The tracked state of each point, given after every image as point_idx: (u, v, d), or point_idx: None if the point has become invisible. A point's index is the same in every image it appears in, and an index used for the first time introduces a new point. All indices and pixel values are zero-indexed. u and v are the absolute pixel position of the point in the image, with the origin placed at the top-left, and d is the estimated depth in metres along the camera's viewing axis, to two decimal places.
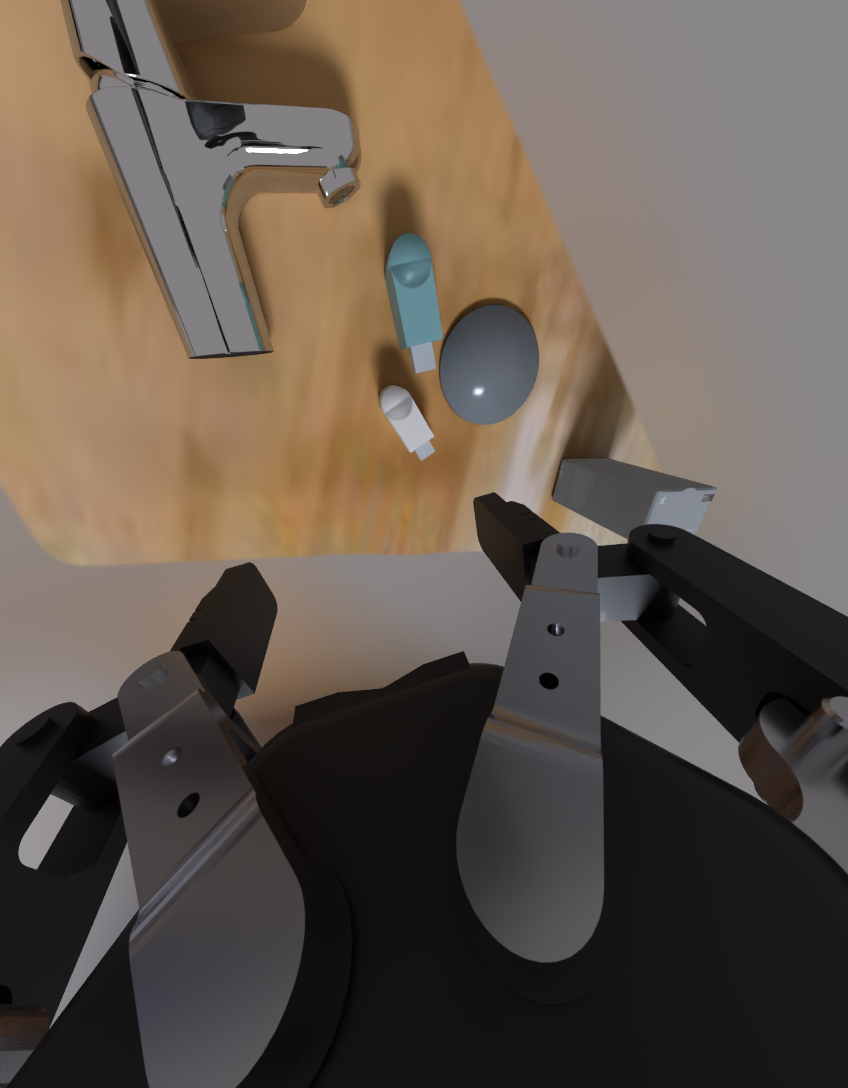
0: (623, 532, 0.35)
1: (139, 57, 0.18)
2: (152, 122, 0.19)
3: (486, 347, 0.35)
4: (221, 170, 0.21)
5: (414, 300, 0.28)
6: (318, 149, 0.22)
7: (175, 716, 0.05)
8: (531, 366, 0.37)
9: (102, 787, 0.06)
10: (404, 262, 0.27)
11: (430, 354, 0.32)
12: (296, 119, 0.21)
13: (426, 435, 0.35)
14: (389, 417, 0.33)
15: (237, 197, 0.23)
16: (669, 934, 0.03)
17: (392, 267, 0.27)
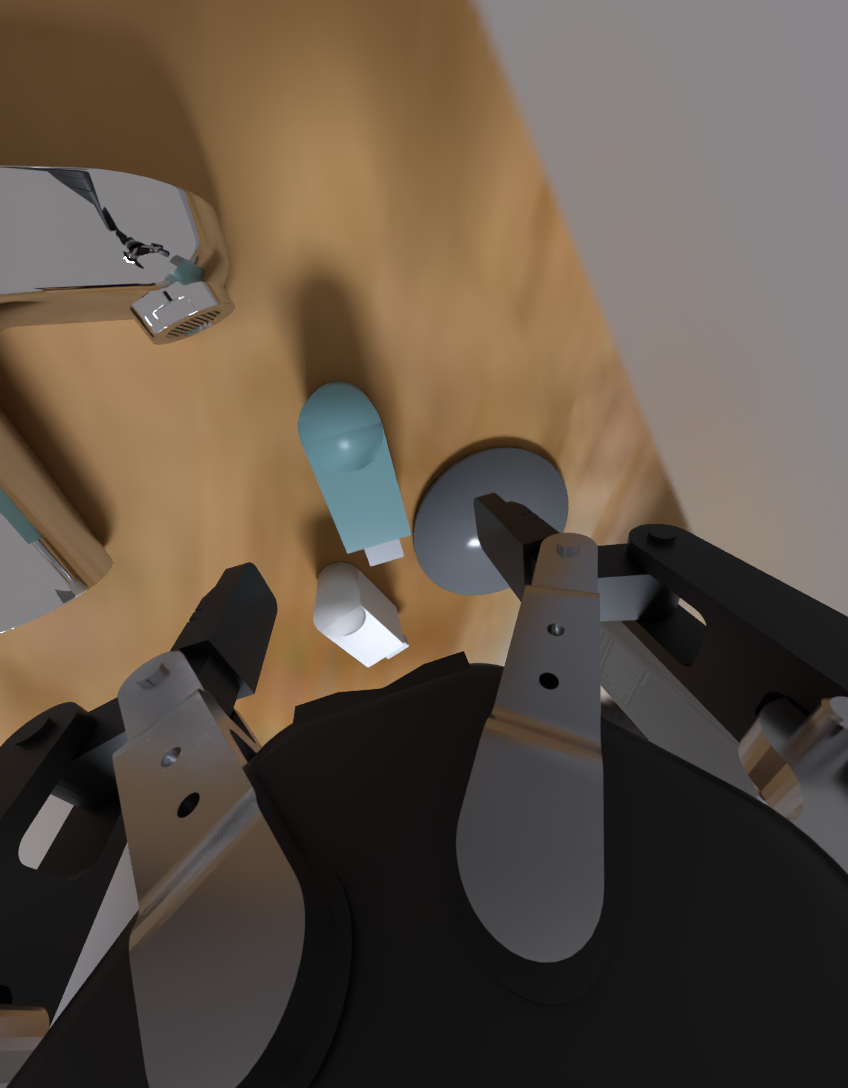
0: None
1: None
2: None
3: None
4: None
5: (355, 488, 0.15)
6: (90, 261, 0.09)
7: (175, 716, 0.05)
8: (556, 520, 0.24)
9: (102, 787, 0.06)
10: (329, 434, 0.14)
11: (393, 540, 0.19)
12: (6, 197, 0.08)
13: (391, 645, 0.22)
14: (328, 635, 0.20)
15: None
16: (668, 934, 0.03)
17: (305, 445, 0.14)
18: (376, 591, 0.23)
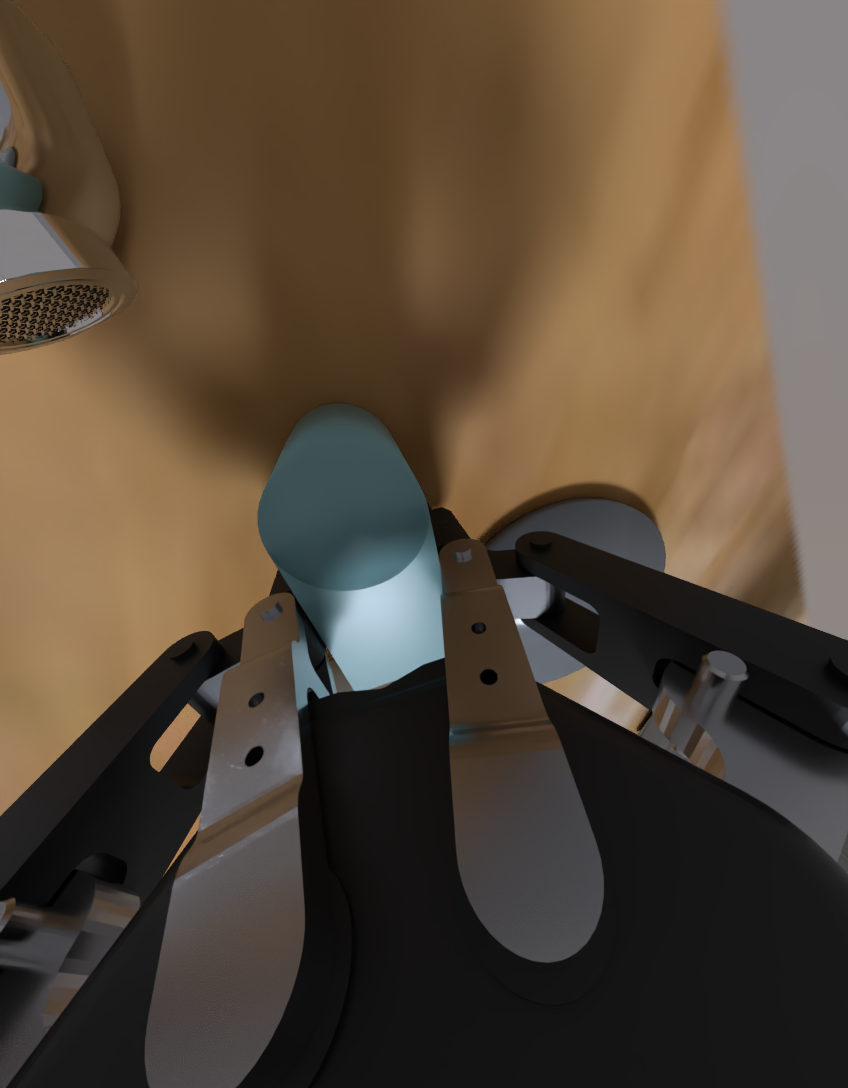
0: None
1: None
2: None
3: None
4: None
5: (372, 610, 0.08)
6: None
7: (270, 661, 0.05)
8: None
9: None
10: (322, 534, 0.07)
11: None
12: None
13: None
14: None
15: None
16: (669, 934, 0.03)
17: (275, 554, 0.07)
18: None
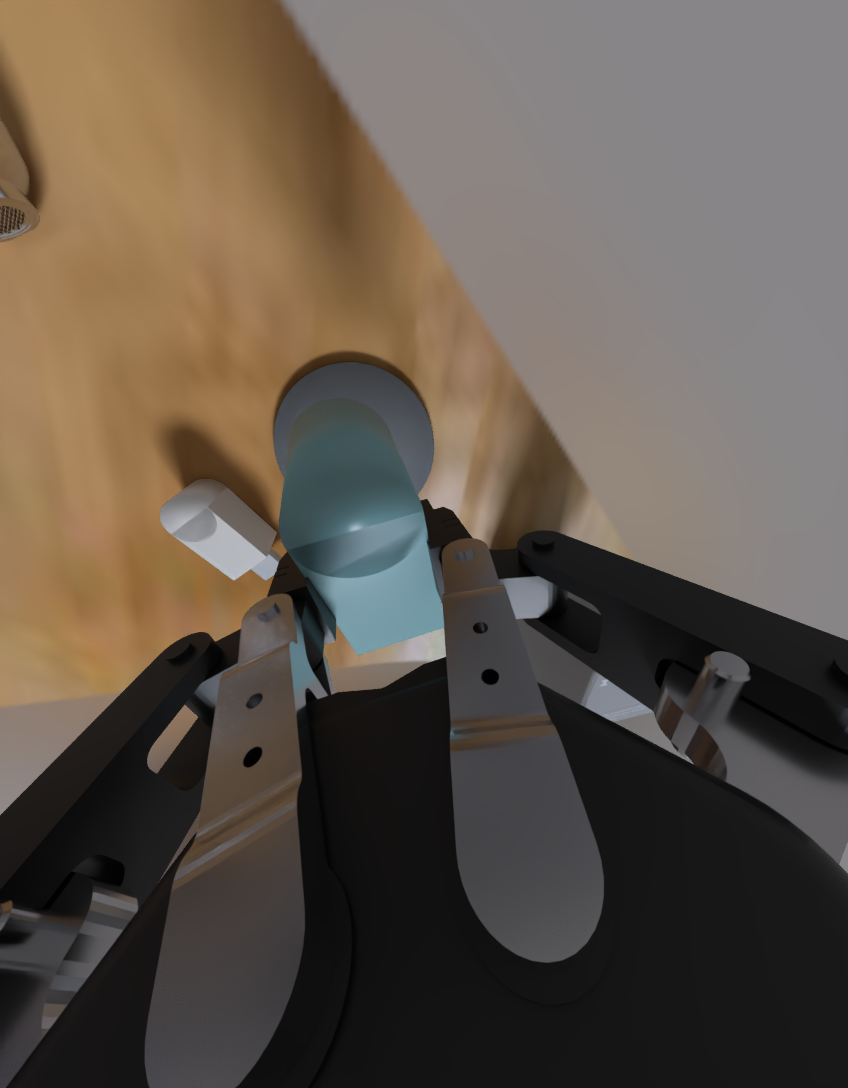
0: None
1: None
2: None
3: None
4: None
5: (373, 592, 0.10)
6: None
7: (268, 662, 0.05)
8: (423, 444, 0.25)
9: None
10: (334, 535, 0.08)
11: None
12: None
13: (253, 557, 0.23)
14: (181, 539, 0.21)
15: None
16: (669, 936, 0.03)
17: (293, 551, 0.08)
18: (247, 510, 0.24)
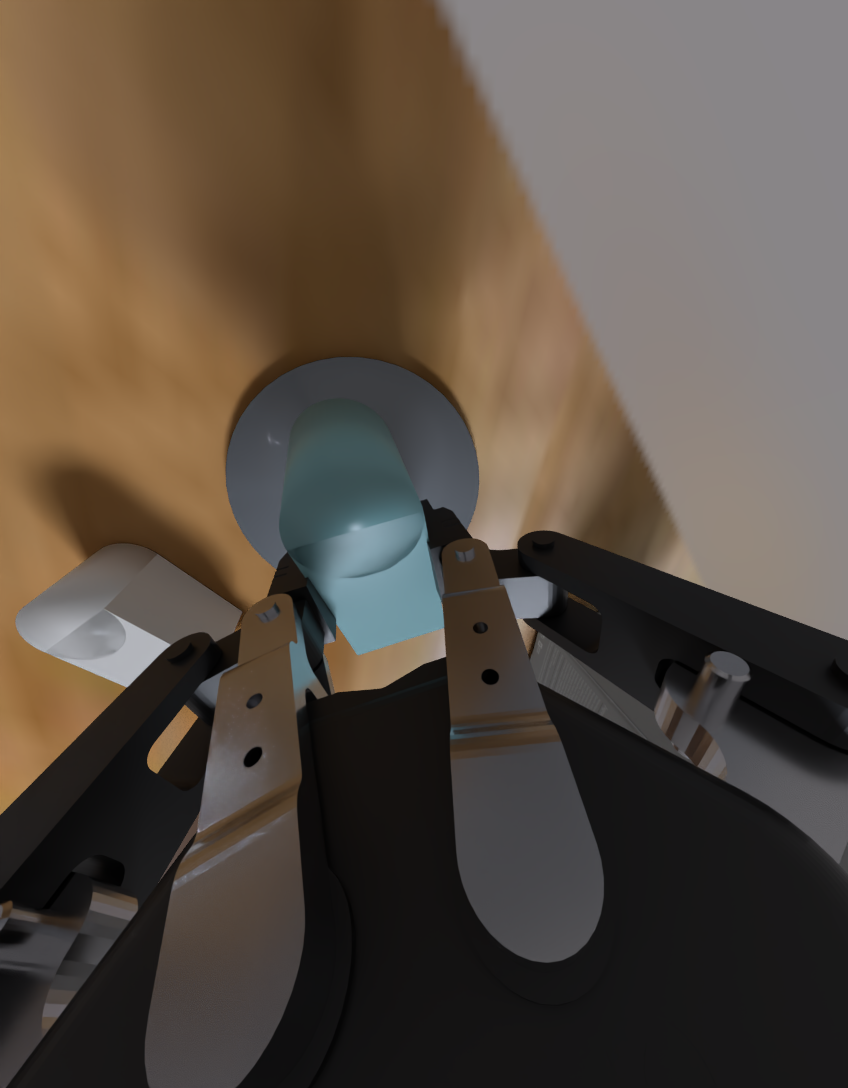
0: None
1: None
2: None
3: None
4: None
5: (373, 592, 0.10)
6: None
7: (268, 662, 0.05)
8: (463, 484, 0.16)
9: None
10: (334, 535, 0.08)
11: None
12: None
13: None
14: (64, 657, 0.12)
15: None
16: (668, 936, 0.03)
17: (293, 552, 0.08)
18: (191, 588, 0.16)
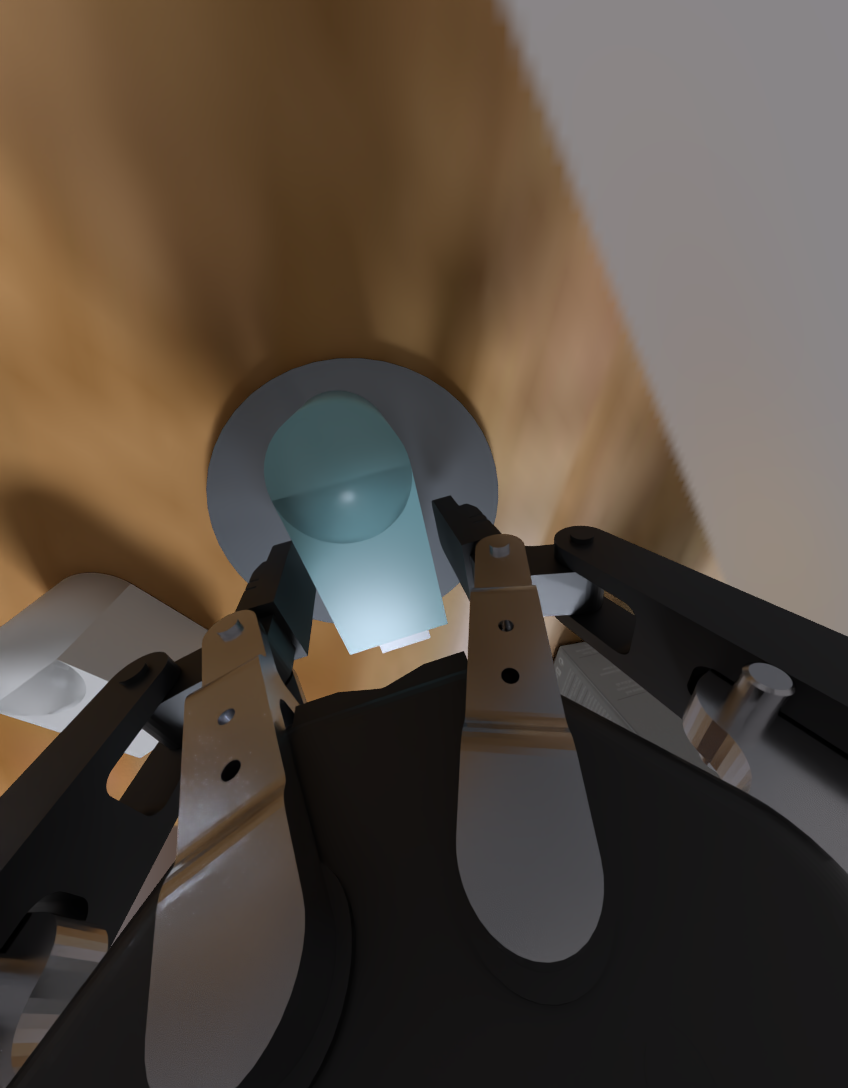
0: None
1: None
2: None
3: None
4: None
5: (363, 565, 0.09)
6: None
7: (237, 677, 0.05)
8: (480, 502, 0.14)
9: (180, 733, 0.07)
10: (319, 485, 0.08)
11: None
12: None
13: None
14: (13, 714, 0.10)
15: None
16: (669, 934, 0.03)
17: (278, 503, 0.08)
18: (170, 621, 0.14)
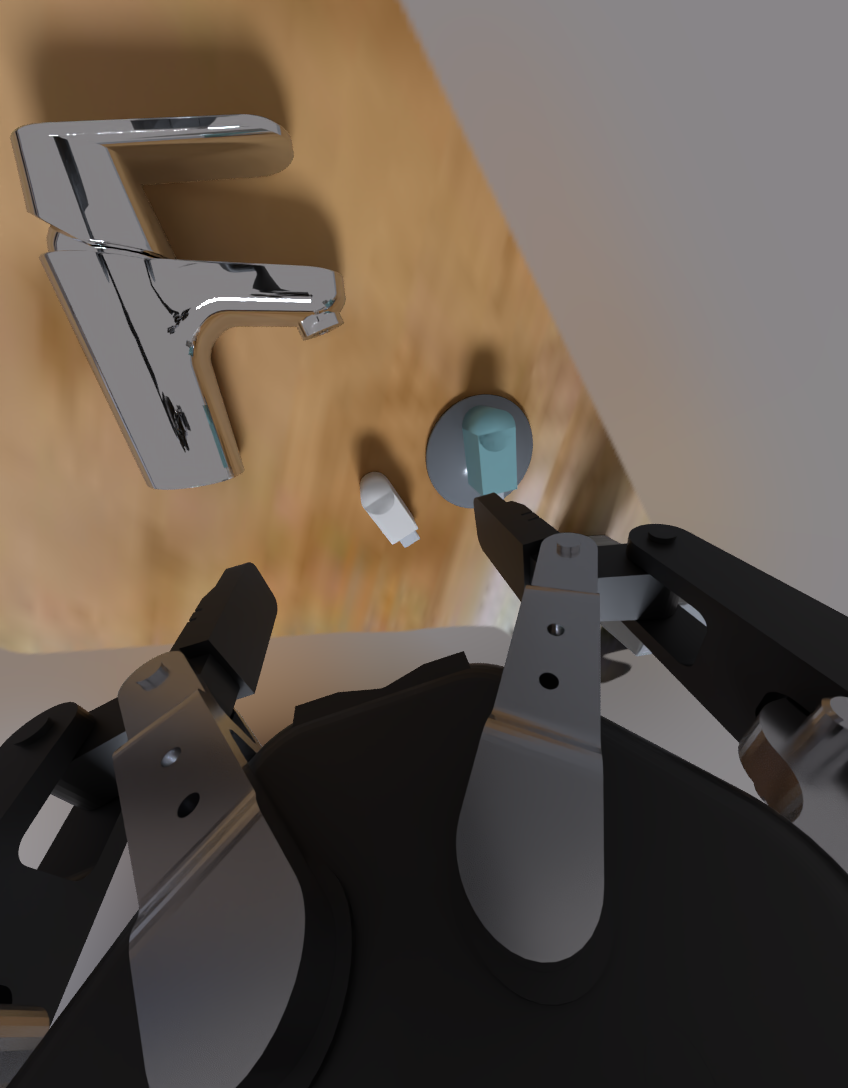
0: (620, 637, 0.32)
1: (99, 222, 0.17)
2: (111, 282, 0.18)
3: None
4: (189, 320, 0.20)
5: (495, 460, 0.29)
6: (296, 301, 0.21)
7: (175, 716, 0.05)
8: (524, 452, 0.34)
9: (102, 787, 0.06)
10: (490, 432, 0.28)
11: (500, 494, 0.33)
12: (273, 276, 0.20)
13: (409, 527, 0.32)
14: (369, 512, 0.30)
15: (208, 338, 0.22)
16: (669, 936, 0.03)
17: (479, 436, 0.28)
18: (398, 495, 0.34)
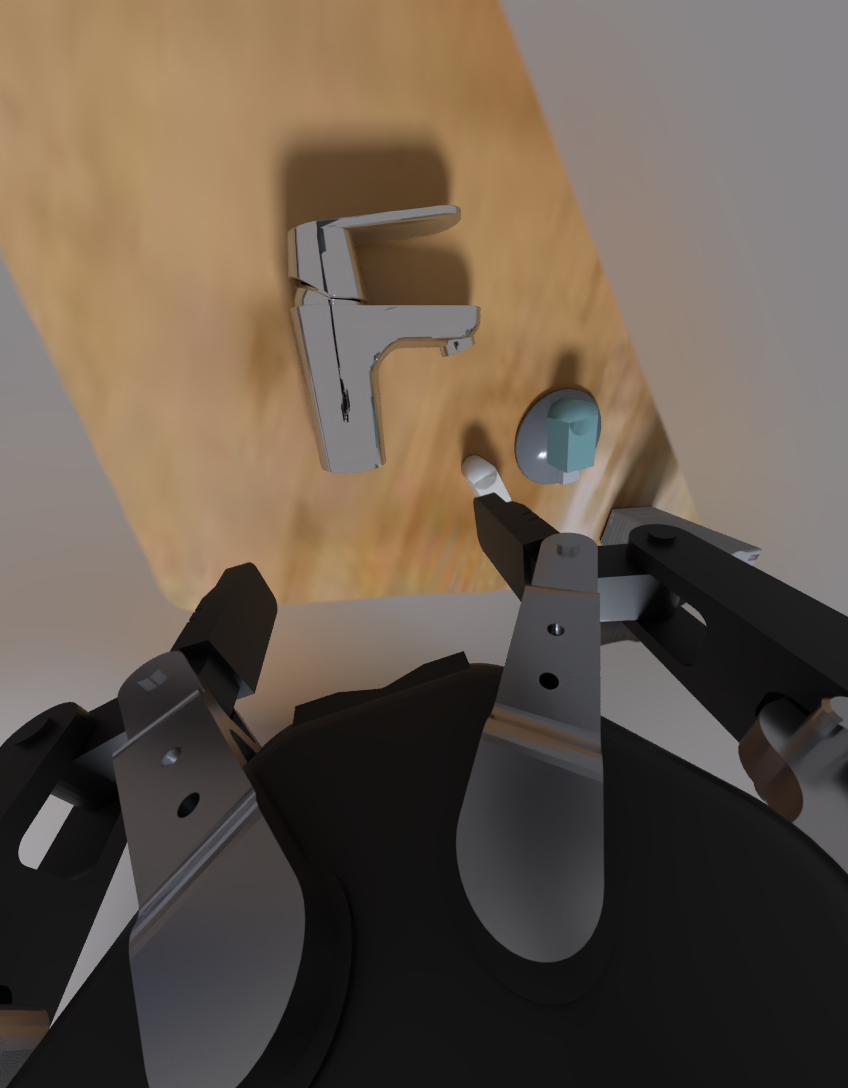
0: None
1: (343, 283, 0.24)
2: (343, 324, 0.25)
3: None
4: (381, 347, 0.27)
5: (580, 442, 0.36)
6: (453, 330, 0.28)
7: (175, 716, 0.05)
8: None
9: (102, 787, 0.06)
10: (579, 419, 0.35)
11: (576, 471, 0.40)
12: (442, 313, 0.27)
13: (505, 500, 0.39)
14: (476, 487, 0.38)
15: (384, 358, 0.29)
16: (669, 934, 0.03)
17: (570, 423, 0.35)
18: None
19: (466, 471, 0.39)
